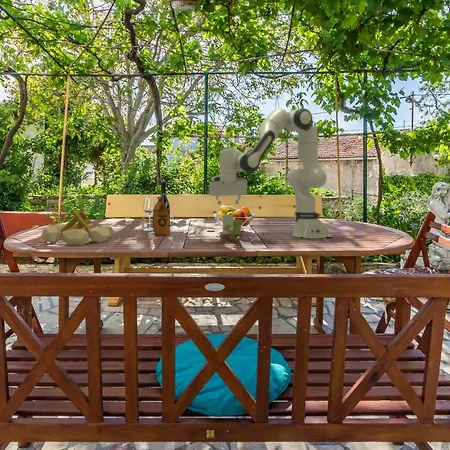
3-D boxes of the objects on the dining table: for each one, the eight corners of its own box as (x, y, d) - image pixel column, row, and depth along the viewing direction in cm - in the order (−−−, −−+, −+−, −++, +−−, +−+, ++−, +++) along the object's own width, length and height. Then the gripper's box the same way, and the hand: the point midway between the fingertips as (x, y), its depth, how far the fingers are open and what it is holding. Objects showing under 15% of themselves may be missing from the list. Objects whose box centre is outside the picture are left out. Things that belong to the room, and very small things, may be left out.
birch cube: (232, 232, 219) (232, 223, 218) (232, 234, 214) (233, 224, 213) (222, 232, 219) (222, 223, 218) (223, 234, 214) (223, 224, 213)
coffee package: (153, 236, 233) (153, 197, 230) (152, 232, 245) (151, 196, 242) (171, 235, 235) (170, 197, 232) (168, 232, 247) (168, 196, 244)
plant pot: (224, 235, 237) (224, 220, 236) (231, 233, 245) (231, 219, 244) (238, 236, 233) (238, 221, 232) (245, 234, 241) (245, 220, 240)
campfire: (124, 237, 227) (123, 207, 225) (88, 247, 195) (87, 212, 193) (70, 234, 237) (69, 205, 234) (27, 244, 204) (25, 210, 202)
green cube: (232, 223, 218) (232, 214, 218) (232, 224, 213) (233, 215, 213) (222, 223, 218) (222, 214, 217) (223, 224, 213) (223, 215, 212)
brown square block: (233, 240, 220) (233, 232, 220) (234, 242, 214) (234, 234, 213) (220, 240, 220) (220, 232, 219) (221, 242, 213) (221, 234, 213)
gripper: (246, 177, 219) (246, 203, 221) (208, 178, 218) (209, 204, 220) (248, 177, 213) (248, 204, 215) (209, 178, 211) (209, 205, 213)
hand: (228, 204), depth 217 cm, fingers open, 8 cm apart
